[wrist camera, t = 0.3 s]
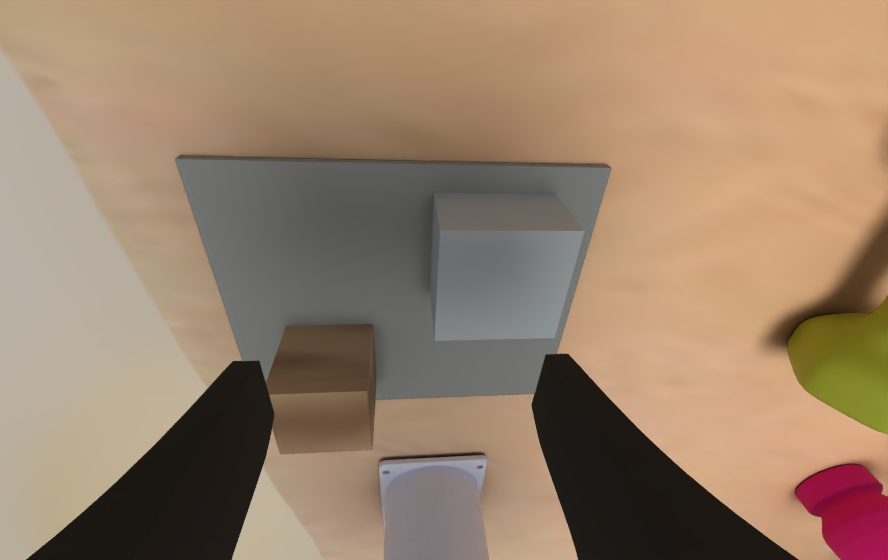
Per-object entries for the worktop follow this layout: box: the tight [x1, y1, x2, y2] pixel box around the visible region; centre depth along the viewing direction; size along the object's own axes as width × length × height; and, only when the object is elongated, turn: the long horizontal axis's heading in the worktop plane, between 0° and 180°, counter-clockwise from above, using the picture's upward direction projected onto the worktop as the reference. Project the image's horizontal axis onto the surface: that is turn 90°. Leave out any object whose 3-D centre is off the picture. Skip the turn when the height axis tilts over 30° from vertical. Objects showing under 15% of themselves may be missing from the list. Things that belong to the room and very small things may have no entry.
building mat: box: [175, 156, 611, 400], centre depth 21 cm, size 15×18×1 cm
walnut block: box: [266, 324, 377, 454], centre depth 21 cm, size 4×4×4 cm
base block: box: [430, 193, 585, 341], centre depth 18 cm, size 6×6×4 cm
